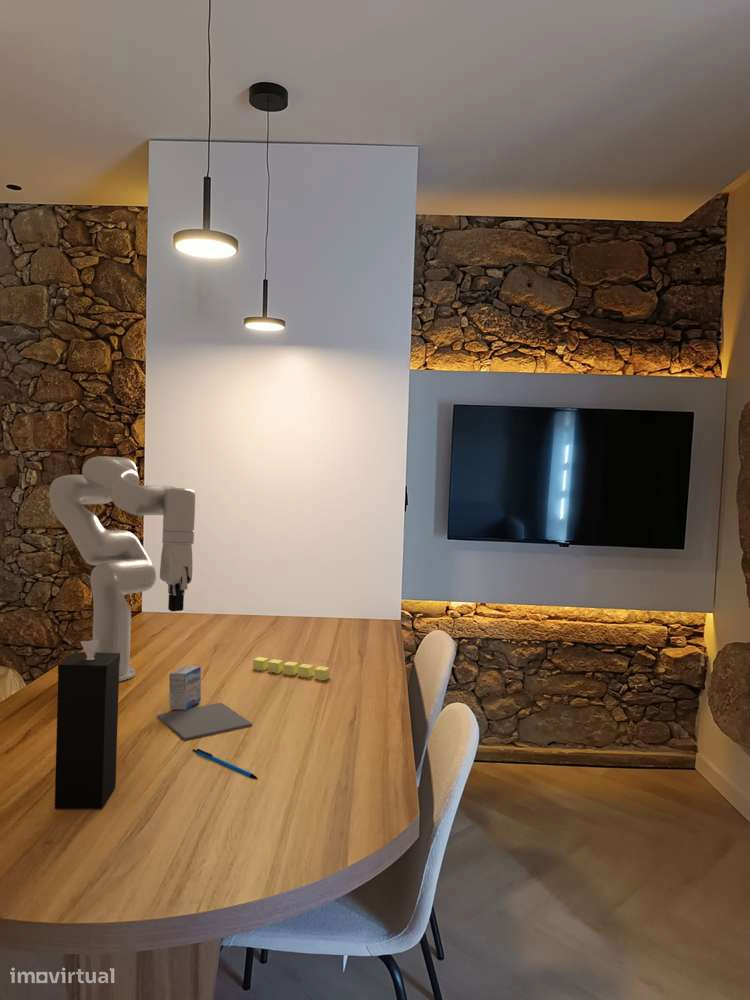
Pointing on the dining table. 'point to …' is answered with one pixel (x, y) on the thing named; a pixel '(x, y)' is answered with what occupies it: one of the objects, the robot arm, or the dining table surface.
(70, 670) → the tissue box
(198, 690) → the medicine box
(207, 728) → the mat
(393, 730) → the dining table surface
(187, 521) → the robot arm
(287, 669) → the yellow cube line
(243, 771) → the pen
